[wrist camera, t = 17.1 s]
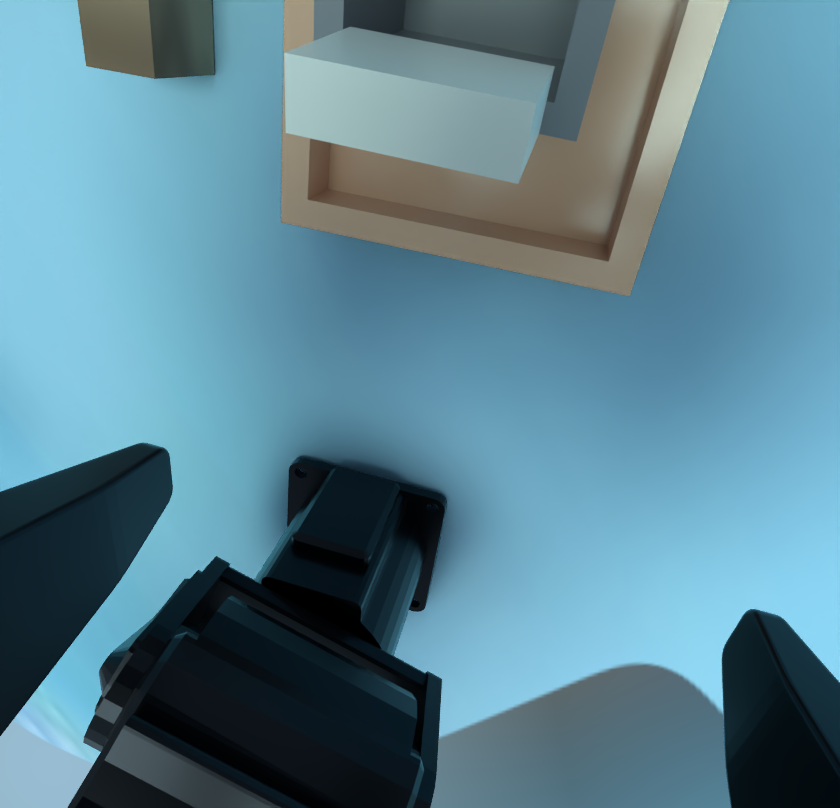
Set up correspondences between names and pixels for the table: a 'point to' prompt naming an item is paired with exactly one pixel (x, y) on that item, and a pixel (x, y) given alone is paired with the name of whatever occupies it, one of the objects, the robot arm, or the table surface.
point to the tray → (529, 165)
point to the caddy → (446, 78)
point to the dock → (149, 36)
